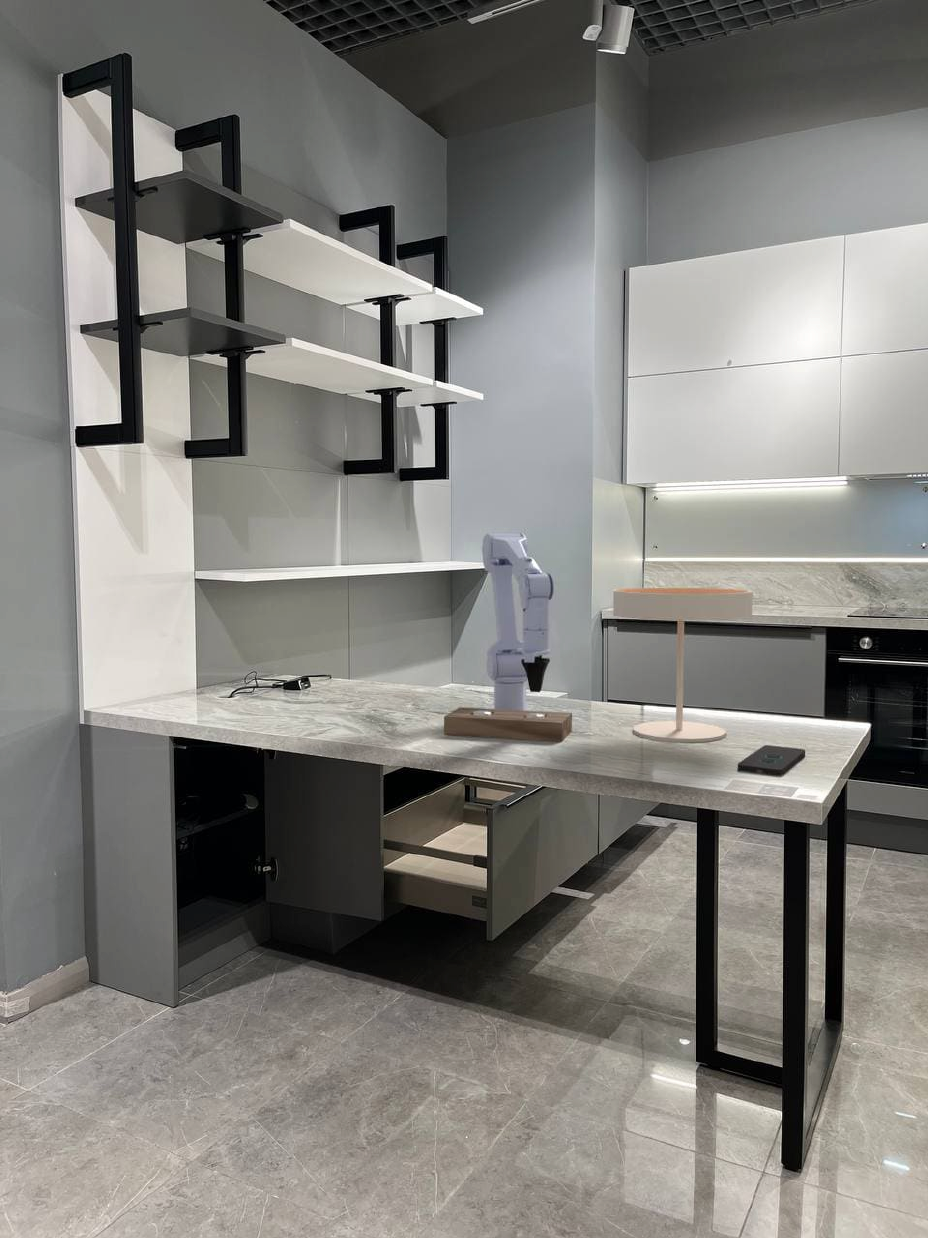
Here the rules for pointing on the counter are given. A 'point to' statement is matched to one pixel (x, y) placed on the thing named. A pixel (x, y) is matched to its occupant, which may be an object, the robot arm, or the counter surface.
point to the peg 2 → (535, 715)
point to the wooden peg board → (508, 724)
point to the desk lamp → (681, 641)
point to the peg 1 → (482, 713)
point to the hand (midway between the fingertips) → (535, 691)
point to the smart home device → (771, 760)
